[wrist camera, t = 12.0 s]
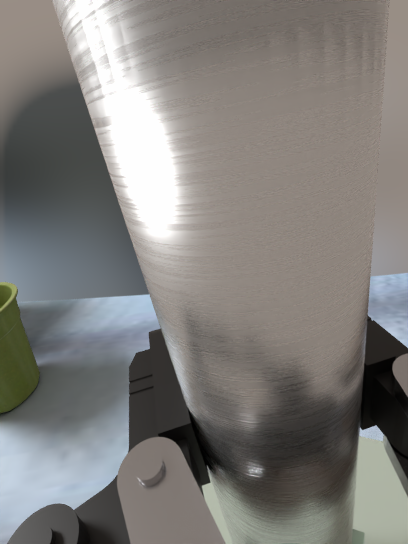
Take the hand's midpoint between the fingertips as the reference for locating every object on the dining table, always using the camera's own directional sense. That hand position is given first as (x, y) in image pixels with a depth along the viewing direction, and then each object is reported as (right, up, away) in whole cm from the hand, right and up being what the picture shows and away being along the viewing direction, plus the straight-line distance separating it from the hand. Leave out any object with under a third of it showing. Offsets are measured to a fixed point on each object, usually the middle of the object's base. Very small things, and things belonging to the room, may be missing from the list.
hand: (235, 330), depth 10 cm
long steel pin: (+3, -11, +3) cm, 12 cm away
